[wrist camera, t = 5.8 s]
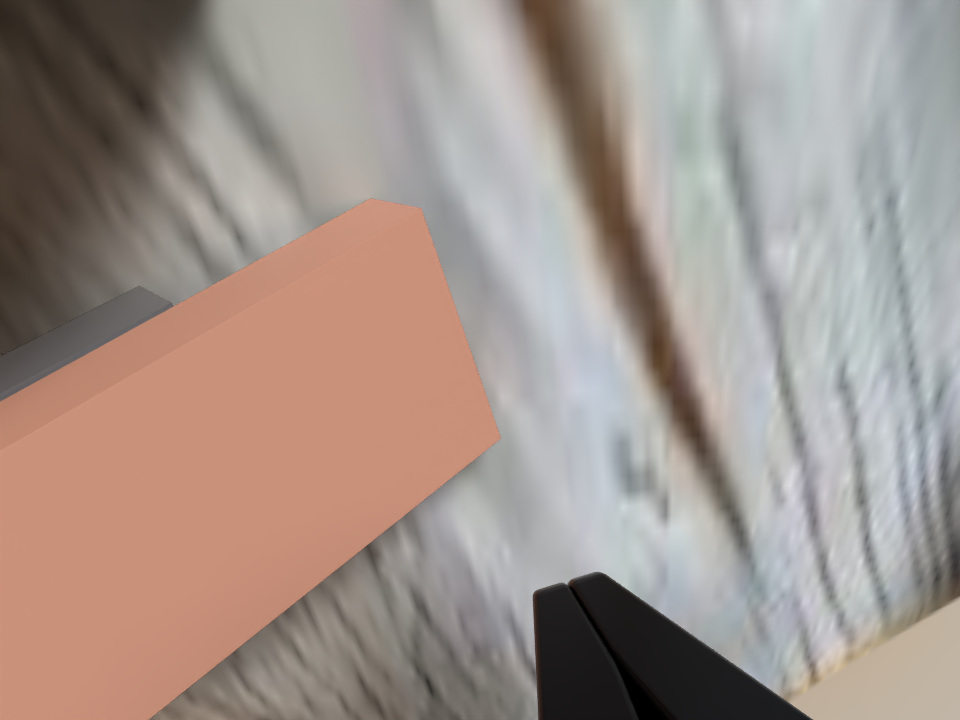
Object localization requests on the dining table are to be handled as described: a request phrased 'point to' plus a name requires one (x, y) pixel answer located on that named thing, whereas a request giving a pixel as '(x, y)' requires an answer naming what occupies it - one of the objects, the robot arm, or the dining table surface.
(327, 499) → the domino
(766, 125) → the dining table surface
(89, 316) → the domino
